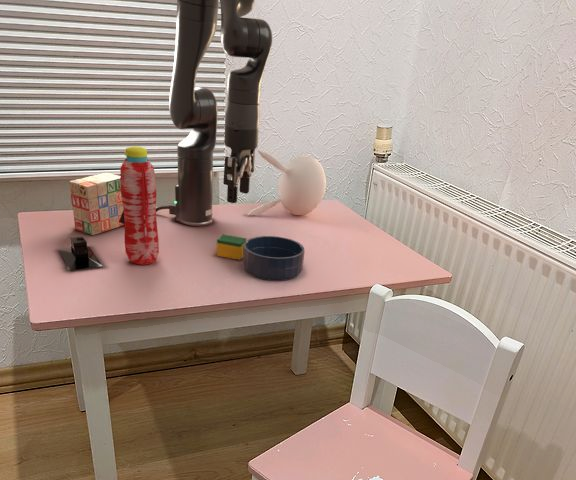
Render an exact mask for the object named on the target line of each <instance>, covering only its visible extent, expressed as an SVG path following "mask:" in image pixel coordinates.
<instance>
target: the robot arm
mask: <svg viewBox="0 0 576 480" xmlns="http://www.w3.org/2000/svg"><path fill="white" fill-rule="evenodd" d="M219 3H220V4H219ZM219 5H220V45H221V47H222V49H223V51H224V52H225V53H226V54H227V55H228V56H229V57H232V58H245V59H248V60H247V62H246V64H245V65H244V66H243V67H241V68H238V69H234V70H232V71H230V72H228V76H227V86H226V87H227V89H226V106H225V112H224V113H225V114H224V116H225V117H224V136H223V137H224V139H223V142H224V145H225V146H226V147H227V148H229V149H230V150H231V151H230V155H229V156H225V157H224V164H223V165H224V166H223V183H222V184H223V185H225V186H227V191H226V192H227V194H226V201H227V202H228V203H230V204H236V203H237V202H238V190H239V192H240V193H242V194H247V195H248V194H249V192H250V184H251V183H250V182H251V177H252V174H253V173H254V172H255V157H256V155H255V153H256V149H257V148H258V145H259V129H260V115H261V114H260V111H261V110H260V102H261V101H260V100H261V99H260V98H261V86H262V85H261V84H262V80H263V76H264V74H265V73H264V72H265V69H266V67H267V62H268V59H269V57H270V53H271V50H272V46H273V32H272V29H271V26H270V25H269V23H268V22H267V20H264V19H261V18H251V17H244V16H247V15H248V14H249V13H251V12H252V10H253V9H254V6H255V0H176V24H175V25H176V30H175V32H176V33H175V48H174V61H173V68H172V76H171V84H170V90H169V91H170V92H169V101H168V102H169V115H170V118H171V122H172V123H173V125H174V126H175V128H177V129H179V130H190V132H189V134H188V135H187V136H186V137H185V138H184V139H182V140H181V141H180V142H178V144H177V148H176V152H177V153H176V155H177V184H175V187H174V196H175V200H174V201H173V202H172V203H170V204H169V205H162V206H158V207H156V213H157V212H159V211H161V210H169V211H168V213H169V215H172V216H175V222H179V223H181V224H183V225H186V226H191V227H192V226H193V227H204V226H208V225H210V224H212V223H213V219H214V218H213V196H214V195H213V193H214V191H213V189H214V188H213V187H214V184H213V182H214V180H213V179H214V150H215V147H216V144H217V132H218V131H217V130H218V115H219V113H218V102H217V99H216V96H215V94H214V92H212V90H211V89H209V88H207V87H196V81H197V75H198V70H199V67H200V64H201V63H202V61H203V58H204V57H205V54H206V52H207V51H208V49H209V47H210V45H211V44H212V42H213V39H214V37H215V35H216V31H217V26H218V17H219V16H218V15H219ZM238 188H239V189H238Z"/></svg>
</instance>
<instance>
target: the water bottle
mask: <svg viewBox="0 0 576 480" xmlns="http://www.w3.org/2000/svg"><path fill="white" fill-rule="evenodd" d="M124 155H125V157H126V158H125V159H124V160H123V162H122V164H121V166H120V169H119V171H120V172H119V173H120V175H119V176H120V185H121V196H122V202H123V208H124V210H123V213H122V215H121V217H120V220H119V222H120V223H122V224H125V225H124V249H125V255H126V256H127V258H128V260H129V262H130V263H132V264H136V265H140V266H144V265H146V266H147V265H151V264H153V263H154V262H156V261H157V258H158V256H159V253H160V245H159V232H158V223H157V212H156V208H157V180H156V173H155V168H154V165H153V164H152V163H151V161H150V159H148V149H147V148H146V147H142V146H128V147H126V148H125V152H124Z"/></svg>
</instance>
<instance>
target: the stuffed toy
mask: <svg viewBox="0 0 576 480" xmlns="http://www.w3.org/2000/svg"><path fill="white" fill-rule="evenodd" d="M257 152H258V153H259V155H260V157H261V158H263V159H264V160H265V161H266V162H267V163H269V164H270V165H271V166H273V167H274V168H276V169H277V170H279V171H281V174H280V175H279V178H278V179H279V180H278V186H277V193H278V197H279V199H274V200H270V201H268V202H265V203H263V204H262V205H259V206H257V207H255V208H252V210H250V211H249V212H248V213H247V214H246V216H256V215H260V214H262V213H264V212H266V211H268V210H270V209H272V208H273V207H275V206H277V205H278V204H280V203H281V205H282V207H283V208H284V209H285V210H286V211H287V212H288V213H289V214H292V215H295V216H305V215H309V214H310V213H311V212H313V211H314V210H316V209H317V207H318V206H319V205H320V203H321V202H322V200H323V197H324V196H325V193H327V194H329V195H330V194H331V192H332V191H331V190H328V191H326V188H327V177H326V172H325V170H324V168H323V165H322V164H321V163H320V162H319V161H318V160H317V159H316V158H314V157H312V156H310V155H299V156H296V157H294V158H292V159H291V160H290V161H289V162H288V163H286V165H285V166H284V165H283V163H282V162H280V160H278V159H277V158H276V157H275V156H274V155H272V154H271V153H269V152H266V151H263V150H257Z"/></svg>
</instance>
